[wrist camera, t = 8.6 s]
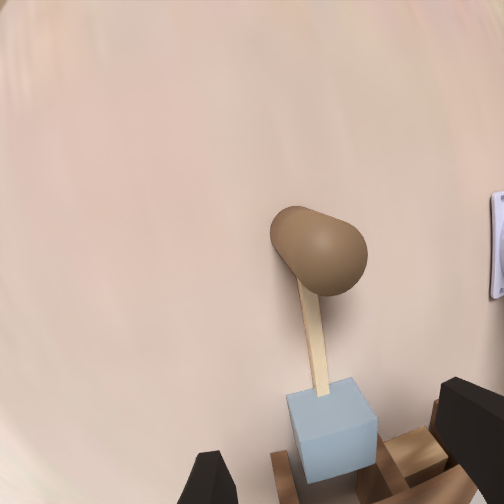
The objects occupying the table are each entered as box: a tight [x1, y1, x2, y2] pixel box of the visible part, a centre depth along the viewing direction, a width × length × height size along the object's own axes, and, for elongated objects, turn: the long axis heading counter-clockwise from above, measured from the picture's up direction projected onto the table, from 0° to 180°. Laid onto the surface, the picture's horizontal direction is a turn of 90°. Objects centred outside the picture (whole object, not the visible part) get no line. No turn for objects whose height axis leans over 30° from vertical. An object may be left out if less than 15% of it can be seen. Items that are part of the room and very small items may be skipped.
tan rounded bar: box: [270, 206, 378, 484], centre depth 16 cm, size 4×16×6 cm, turn 12°
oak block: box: [383, 425, 448, 488], centre depth 20 cm, size 4×4×4 cm
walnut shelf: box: [270, 399, 478, 504], centre depth 18 cm, size 15×10×8 cm, turn 101°
